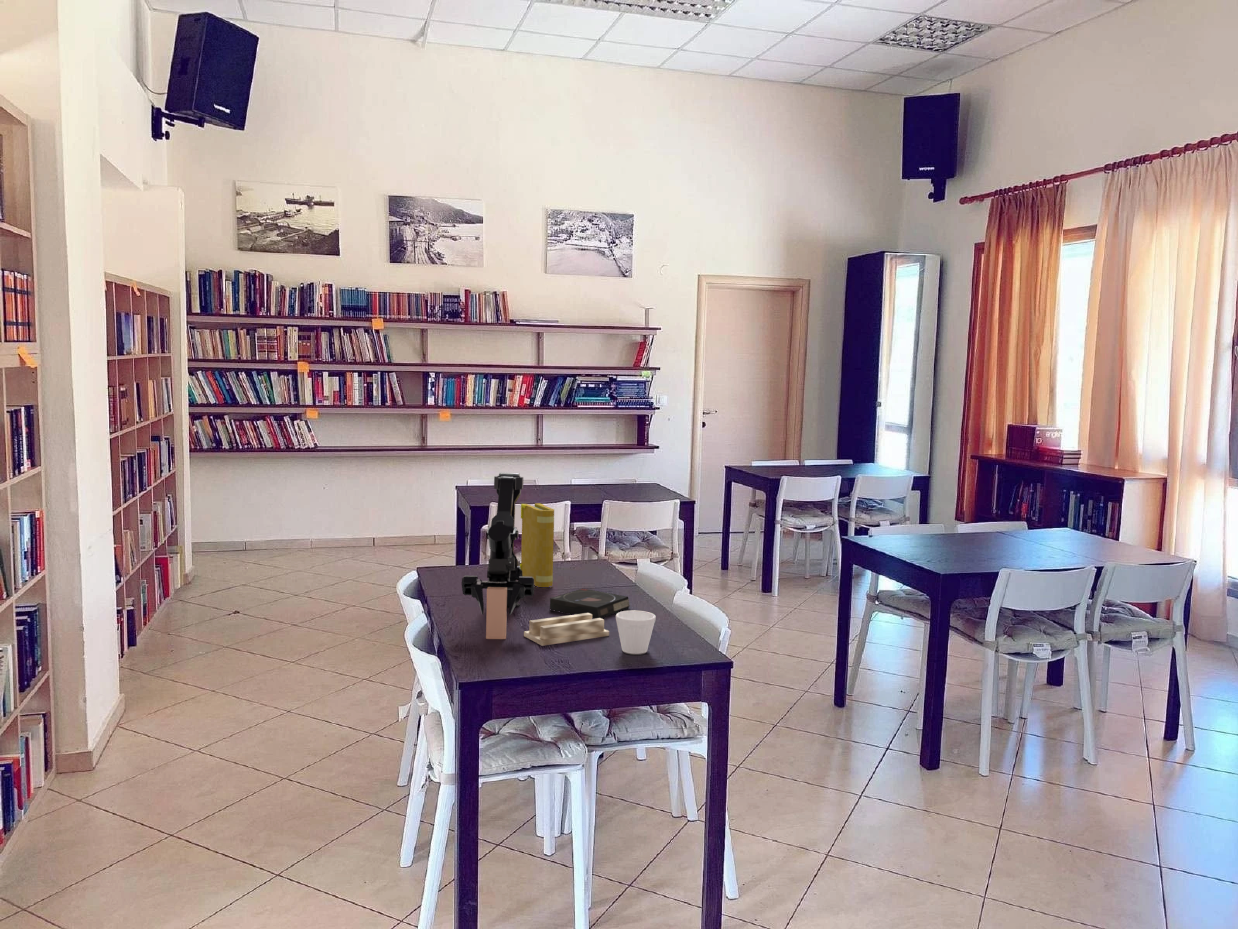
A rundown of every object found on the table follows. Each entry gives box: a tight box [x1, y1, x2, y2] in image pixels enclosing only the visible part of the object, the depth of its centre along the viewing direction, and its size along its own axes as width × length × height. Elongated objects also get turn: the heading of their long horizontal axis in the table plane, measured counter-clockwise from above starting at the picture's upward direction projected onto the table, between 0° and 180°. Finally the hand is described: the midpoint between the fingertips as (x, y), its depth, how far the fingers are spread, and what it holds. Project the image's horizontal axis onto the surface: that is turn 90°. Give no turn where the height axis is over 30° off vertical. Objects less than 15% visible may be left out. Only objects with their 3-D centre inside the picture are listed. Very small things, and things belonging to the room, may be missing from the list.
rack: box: [523, 613, 610, 647], centre depth 244 cm, size 20×10×4 cm, turn 123°
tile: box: [485, 587, 508, 640], centre depth 240 cm, size 2×5×13 cm, turn 93°
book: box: [519, 503, 555, 587], centre depth 304 cm, size 17×7×25 cm, turn 25°
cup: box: [615, 609, 657, 656], centre depth 231 cm, size 10×10×9 cm
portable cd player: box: [549, 587, 631, 619], centre depth 272 cm, size 16×17×4 cm
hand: (496, 614), depth 238 cm, fingers open, 7 cm apart
